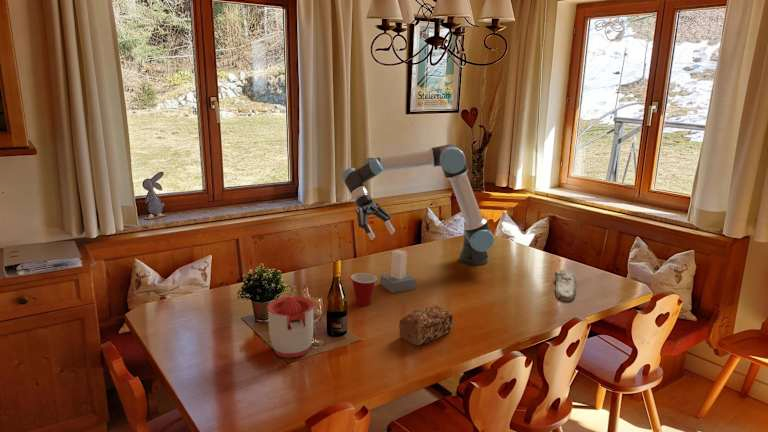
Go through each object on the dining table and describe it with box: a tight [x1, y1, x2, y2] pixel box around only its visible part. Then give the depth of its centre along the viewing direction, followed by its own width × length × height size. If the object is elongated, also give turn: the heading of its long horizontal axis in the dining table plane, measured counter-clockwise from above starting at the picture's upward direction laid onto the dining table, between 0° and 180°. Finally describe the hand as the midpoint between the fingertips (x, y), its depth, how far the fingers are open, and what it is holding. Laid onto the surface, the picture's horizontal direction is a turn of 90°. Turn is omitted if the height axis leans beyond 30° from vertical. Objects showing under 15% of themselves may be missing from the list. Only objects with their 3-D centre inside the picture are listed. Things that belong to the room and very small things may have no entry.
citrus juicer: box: [266, 296, 315, 359], centre depth 181 cm, size 16×17×20 cm
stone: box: [554, 269, 577, 302], centre depth 245 cm, size 35×5×10 cm
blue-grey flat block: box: [379, 272, 417, 294], centre depth 243 cm, size 12×12×5 cm
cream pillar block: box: [390, 249, 408, 280], centre depth 241 cm, size 5×5×12 cm
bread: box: [398, 305, 453, 346], centre depth 196 cm, size 19×11×10 cm, turn 131°
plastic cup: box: [350, 272, 378, 307], centre depth 223 cm, size 11×11×12 cm
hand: (383, 235), depth 248 cm, fingers open, 13 cm apart
